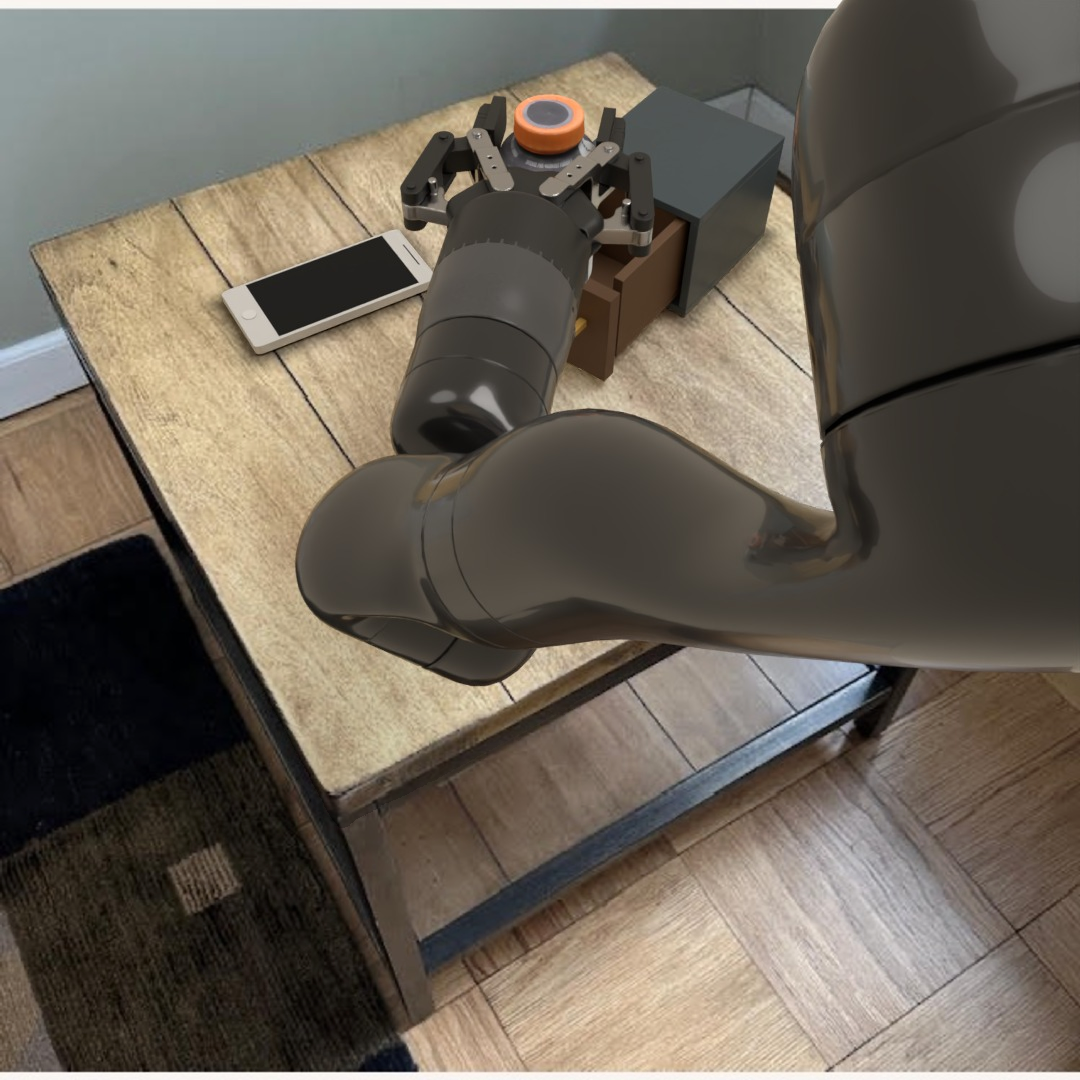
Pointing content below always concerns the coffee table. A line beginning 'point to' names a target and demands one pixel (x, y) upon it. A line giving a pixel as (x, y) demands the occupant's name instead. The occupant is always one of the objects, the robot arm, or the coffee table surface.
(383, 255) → the smartphone
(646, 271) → the drawer
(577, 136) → the pill bottle
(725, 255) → the cabinet
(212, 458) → the coffee table surface
